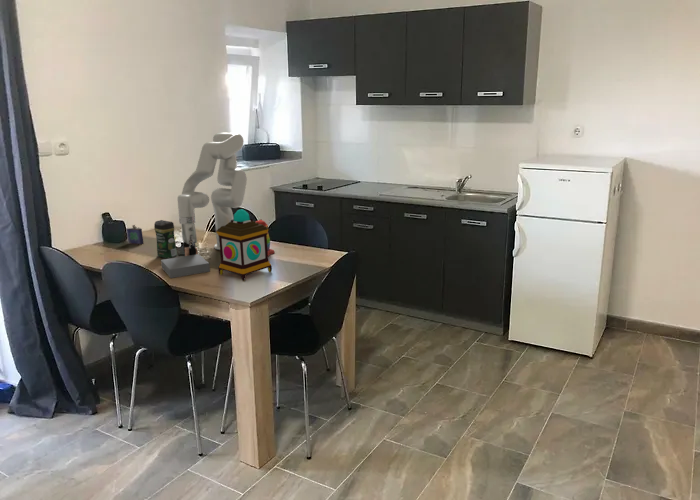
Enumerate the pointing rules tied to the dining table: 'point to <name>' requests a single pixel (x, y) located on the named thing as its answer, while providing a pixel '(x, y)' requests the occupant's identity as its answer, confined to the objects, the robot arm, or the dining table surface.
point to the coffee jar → (165, 239)
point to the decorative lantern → (243, 246)
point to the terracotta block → (188, 251)
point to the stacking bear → (267, 237)
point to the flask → (134, 235)
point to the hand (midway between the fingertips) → (190, 253)
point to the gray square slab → (185, 265)
